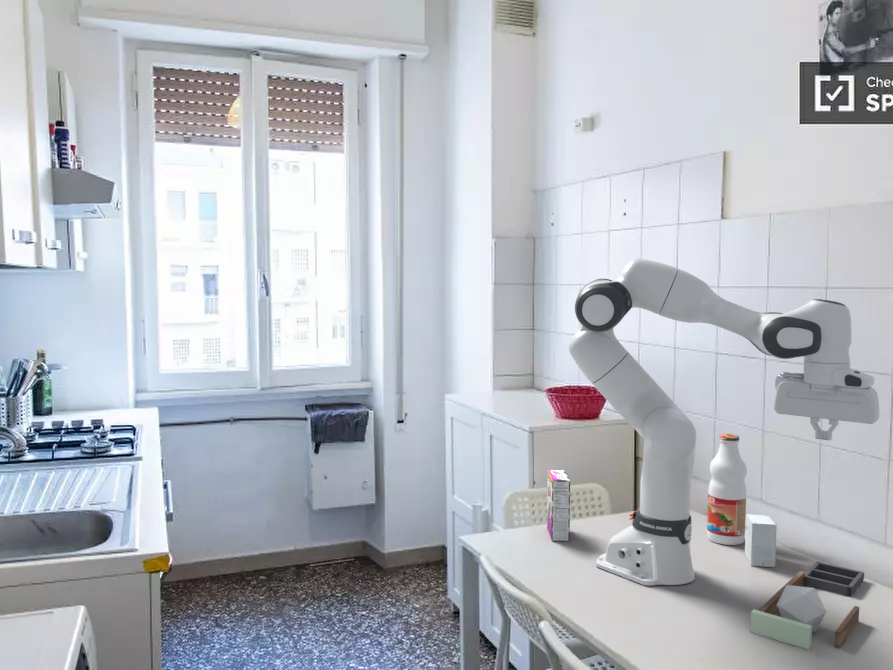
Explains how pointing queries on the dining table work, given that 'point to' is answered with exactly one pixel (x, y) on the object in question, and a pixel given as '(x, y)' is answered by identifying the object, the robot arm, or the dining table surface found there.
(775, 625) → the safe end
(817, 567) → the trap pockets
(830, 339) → the robot arm
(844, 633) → the lane walls
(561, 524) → the candy bar box
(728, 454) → the fruit juice
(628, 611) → the dining table surface
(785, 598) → the die
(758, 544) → the small box
